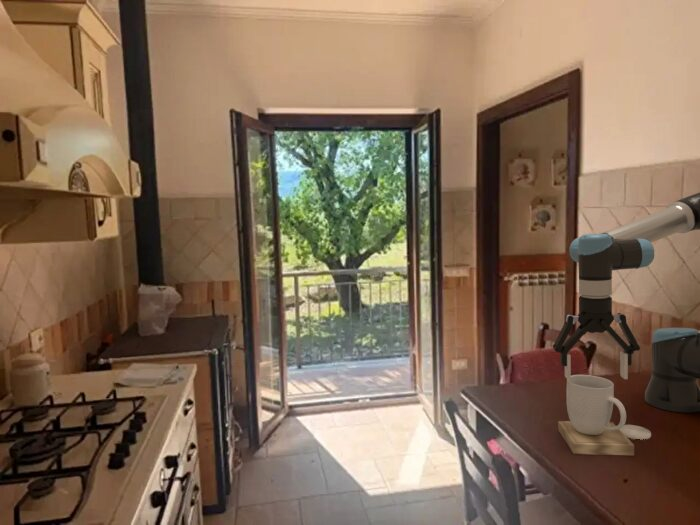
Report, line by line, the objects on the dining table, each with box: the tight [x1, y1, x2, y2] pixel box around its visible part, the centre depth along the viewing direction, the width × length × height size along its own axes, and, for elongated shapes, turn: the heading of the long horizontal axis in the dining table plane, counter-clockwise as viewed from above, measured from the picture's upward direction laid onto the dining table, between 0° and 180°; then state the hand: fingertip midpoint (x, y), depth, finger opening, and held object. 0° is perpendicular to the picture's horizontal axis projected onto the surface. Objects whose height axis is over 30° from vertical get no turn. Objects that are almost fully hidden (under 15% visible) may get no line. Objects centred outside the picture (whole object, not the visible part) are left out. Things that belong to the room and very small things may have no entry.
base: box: [557, 420, 635, 456], centre depth 132 cm, size 14×14×3 cm
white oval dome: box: [619, 424, 652, 441], centre depth 137 cm, size 8×8×1 cm
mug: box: [565, 374, 627, 435], centre depth 131 cm, size 15×11×13 cm
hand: (595, 378), depth 131 cm, fingers open, 13 cm apart
